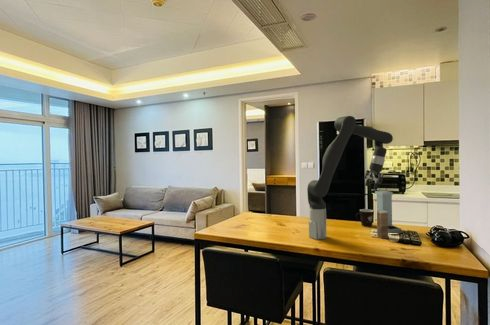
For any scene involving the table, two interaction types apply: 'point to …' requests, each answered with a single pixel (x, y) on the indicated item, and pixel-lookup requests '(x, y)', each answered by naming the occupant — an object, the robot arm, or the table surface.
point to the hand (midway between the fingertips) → (370, 187)
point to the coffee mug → (366, 217)
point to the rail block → (382, 224)
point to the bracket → (394, 229)
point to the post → (385, 203)
